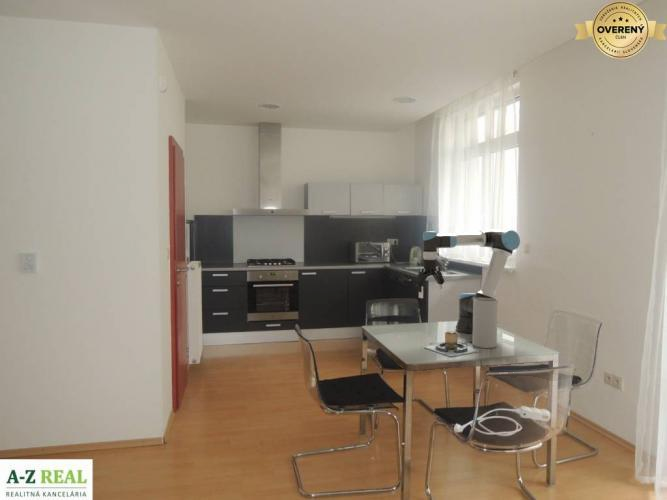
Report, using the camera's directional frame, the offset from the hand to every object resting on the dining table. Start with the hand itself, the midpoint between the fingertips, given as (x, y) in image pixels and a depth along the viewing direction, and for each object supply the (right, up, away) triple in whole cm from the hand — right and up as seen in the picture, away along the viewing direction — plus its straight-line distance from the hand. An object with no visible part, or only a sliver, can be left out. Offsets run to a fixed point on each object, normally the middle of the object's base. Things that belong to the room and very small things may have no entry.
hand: (429, 296), depth 278 cm
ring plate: (+7, -26, -20) cm, 34 cm away
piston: (+7, -25, -20) cm, 33 cm away
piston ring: (+7, -26, -20) cm, 34 cm away
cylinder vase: (+27, -26, -12) cm, 39 cm away
